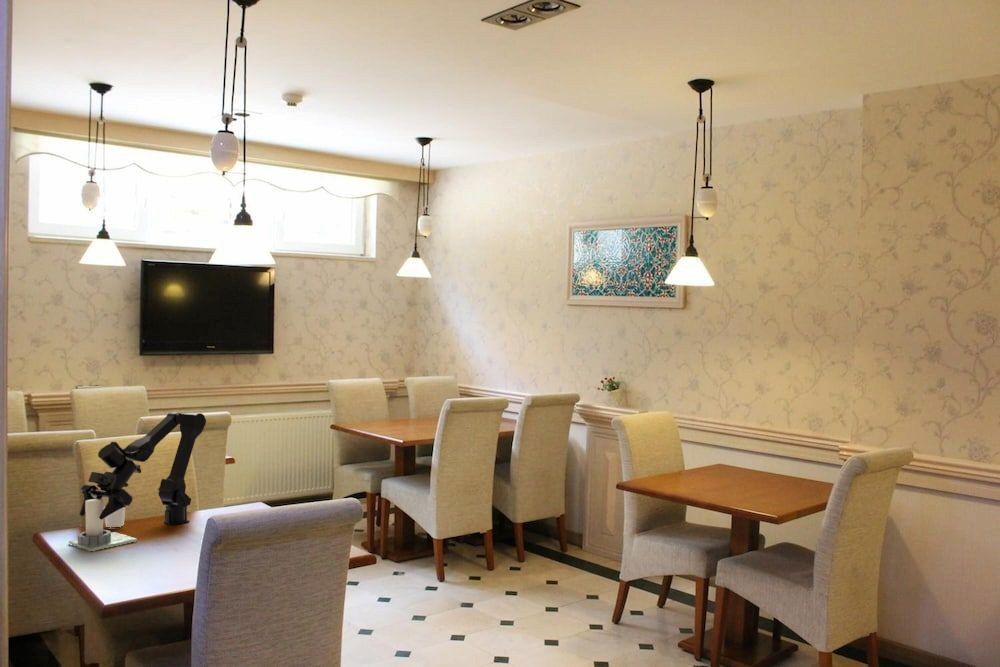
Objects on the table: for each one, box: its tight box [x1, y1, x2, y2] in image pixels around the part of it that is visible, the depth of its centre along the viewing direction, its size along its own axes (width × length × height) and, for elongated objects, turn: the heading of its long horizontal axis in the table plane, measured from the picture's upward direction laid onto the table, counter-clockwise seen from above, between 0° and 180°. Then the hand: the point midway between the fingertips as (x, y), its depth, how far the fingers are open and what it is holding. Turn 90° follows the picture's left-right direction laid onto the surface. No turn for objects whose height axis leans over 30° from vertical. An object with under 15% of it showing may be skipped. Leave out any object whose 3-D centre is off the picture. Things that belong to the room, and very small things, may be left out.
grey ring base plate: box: [68, 529, 138, 552], centre depth 272 cm, size 15×14×4 cm
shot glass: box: [103, 506, 126, 529], centre depth 294 cm, size 7×7×7 cm
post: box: [85, 498, 104, 537], centre depth 270 cm, size 5×5×13 cm
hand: (90, 517), depth 269 cm, fingers open, 9 cm apart
